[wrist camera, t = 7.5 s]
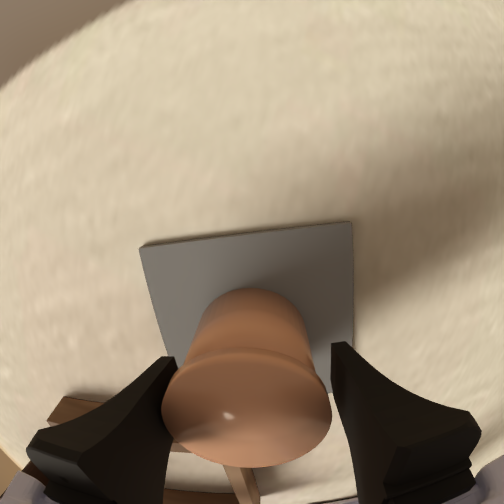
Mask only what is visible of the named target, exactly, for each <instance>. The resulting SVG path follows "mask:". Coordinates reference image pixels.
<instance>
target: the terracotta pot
mask: <svg viewBox="0 0 504 504" xmlns="http://www.w3.org/2000/svg"><path fill="white" fill-rule="evenodd" d="M161 412H162V418H163V422H164V424H165V426H166V428H167V430H168V431H169V433H170V434H171V435H172V436H173V438H174V439H175V440H176V441H177V442H178V443H180V444H181V445H182V446H183V447H185V448H186V449H187V450H189V451H191V452H192V453H194V454H196V455H198V456H200V457H202V458H204V459H207V460H209V461H212V462H215V463H219V464H223V465H228V466H234V467H246V468H257V467H268V466H274V465H279V464H282V463H286V462H289V461H292V460H294V459H297V458H299V457H301V456H303V455H305V454H306V453H308V452H310V451H311V450H312V449H314V448H315V447H316V446H317V445H318V444H319V443H320V442H321V441H322V440H323V439H324V437H325V436H326V434H327V432H328V431H329V428H330V425H331V422H332V410H331V405H330V401H329V397H328V393H327V390H326V387H325V385H324V383H323V382H322V380H321V378H320V377H319V376H318V375H317V374H316V371H315V366H314V362H313V357H312V353H311V349H310V344H309V340H308V336H307V331H306V327H305V323H304V320H303V318H302V316H301V314H300V312H299V311H298V309H297V308H296V307H295V306H294V305H293V304H292V303H291V302H290V301H289V300H287V299H286V298H285V297H283V296H281V295H279V294H277V293H275V292H272V291H269V290H265V289H259V288H242V289H237V290H233V291H230V292H227V293H225V294H223V295H221V296H219V297H218V298H216V299H215V300H214V301H213V302H211V303H210V304H209V305H208V307H207V308H206V309H205V311H204V312H203V314H202V316H201V319H200V321H199V324H198V326H197V329H196V332H195V334H194V337H193V340H192V342H191V345H190V348H189V351H188V353H187V356H186V359H185V361H184V364H183V365H182V366H181V367H180V368H179V369H178V370H177V371H176V372H175V374H174V375H173V377H172V378H171V380H170V382H169V385H168V388H167V390H166V393H165V395H164V398H163V400H162V406H161Z"/></svg>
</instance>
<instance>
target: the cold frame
mask: <svg viewBox="0 0 504 504" xmlns="http://www.w3.org/2000/svg"><path fill="white" fill-rule="evenodd" d="M102 404H104V403H99V402H92V401H85V400H79V399H73V398H68V397H63V398H62V399H61V401H60V402H59V404H58V405H57V406H56V408H55V409H54V411H53V412H52V413H51V415H50V416H49V418H48V419H47V422H48V423H49V425H50V426H51V427H52V426H56V425H59V424H62V423H65V422H67V421H70V420H73V419H75V418H77V417H80V416H82V415H84V414H86V413H88V412H90V411H92V410H93V409H95V408H97V407H99V406H101V405H102ZM170 451H172V452H186V453H192V452H191V451H189V450H187V449H186V448H185V447H183V446H182V445H181V444H180V443H178V442H177V441H176V440H175V439H174V440H173V443H172V446H171V450H170ZM223 467H224V469H225V472H226V474H227V476H228V479H229V481H230V483H231V485H232V488H233V490H234V492H235V494H229V493H204V492H190V491H180V490H171V489H164V494H163V504H260V494H259V491H258V488H257V484H256V481H255V478H254V474H253V471H252V468H246V467H234V466H228V465H223Z"/></svg>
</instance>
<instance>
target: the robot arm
mask: <svg viewBox="0 0 504 504" xmlns="http://www.w3.org/2000/svg"><path fill="white" fill-rule="evenodd" d="M177 370H178V366H177V363H176V360H175V357H174V356H161V357H160V358H159V359H158V360H157V361H155V362H154V363H153V364H152V365H151V366H150V367H149V368H148V369H147V370H145V371H144V372H143V373H142V374H141V375H140V376H139V377H138V378H136V379H135V380H134V381H133V382H132V383H131V384H129V385H128V386H127V387H126V388H124V389H123V390H122V391H121V392H119V393H118V394H117V395H116V396H114V397H113V398H111V399H110V400H108V401H107V402H105V403H104V404H102V405H101V406H99V407H97V408H95V409H93V410H92V411H90V412H88V413H86V414H84V415H82V416H80V417H77V418H75V419H73V420H70V421H67V422H65V423H62V424H59V425H56V426H52V427H48V428H44V429H40V430H38V431H37V433H36V434H35V436H34V437H33V439H32V440H31V442H30V443H29V445H28V447H27V448H26V452H27V455H28V457H29V459H30V460H31V461H32V462H33V463H34V465H35V466H36V467H37V468H38V469H39V470H40V471H41V472H42V473H43V474H44V475H45V476H46V477H47V478H48V479H49V482H48V484H47V486H46V487H45V486H44V485H43V484H42V483H41V482H40V481H38V480H37V479H35V478H34V477H32V476H30V475H28V474H26V473H24V472H22V471H18V472H17V473H16V475H15V476H14V478H13V480H12V482H11V483H10V485H9V486H8V488H7V490H6V492H5V493H4V495H3V497H2V498H1V500H0V504H163V494H164V484H165V477H166V470H167V464H168V458H169V453H170V450H171V446H172V443H173V440H174V438H173V436H172V435H171V434H170V433H169V431H168V430H167V428H166V426H165V424H164V422H163V418H162V412H161V406H162V400H163V398H164V395H165V393H166V390H167V388H168V385H169V382H170V380H171V378H172V377H173V375H174V374H175V372H176V371H177ZM330 380H331V386H332V391H333V396H334V400H335V403H336V406H337V409H338V412H339V415H340V418H341V421H342V424H343V427H344V430H345V433H346V436H347V439H348V443H349V447H350V452H351V457H352V462H353V468H354V474H355V480H356V487H357V495H358V497H356V498H351V499H347V500H341V501H336V502H330V503H323V504H504V455H502V456H500V457H499V458H497V459H495V460H493V461H492V462H490V463H488V464H487V465H485V466H484V467H483V468H482V469H481V470H480V471H479V472H478V473H477V475H476V477H475V478H474V477H473V475H472V473H471V471H470V469H469V468H470V467H471V466H472V463H471V461H470V459H469V456H470V454H471V453H472V451H473V450H474V448H475V447H476V445H477V443H478V441H479V439H480V437H481V432H482V431H481V429H480V427H479V426H478V424H477V422H476V421H475V419H474V418H473V416H472V415H471V414H470V412H469V411H465V410H460V409H456V408H451V407H447V406H444V405H441V404H438V403H435V402H432V401H429V400H427V399H424V398H422V397H420V396H418V395H416V394H413V393H411V392H410V391H408V390H406V389H404V388H402V387H401V386H399V385H397V384H396V383H394V382H392V381H391V380H389V379H388V378H387V377H385V376H384V375H383V374H381V373H380V372H379V371H378V370H376V369H375V368H374V367H373V366H372V365H370V364H369V363H368V362H367V361H366V360H365V359H364V358H363V357H361V356H360V355H359V354H358V353H357V352H356V351H355V350H354V349H353V348H352V347H351V346H350V345H349V344H348V343H347V342H346V341H342V342H335V343H331V373H330Z"/></svg>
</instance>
